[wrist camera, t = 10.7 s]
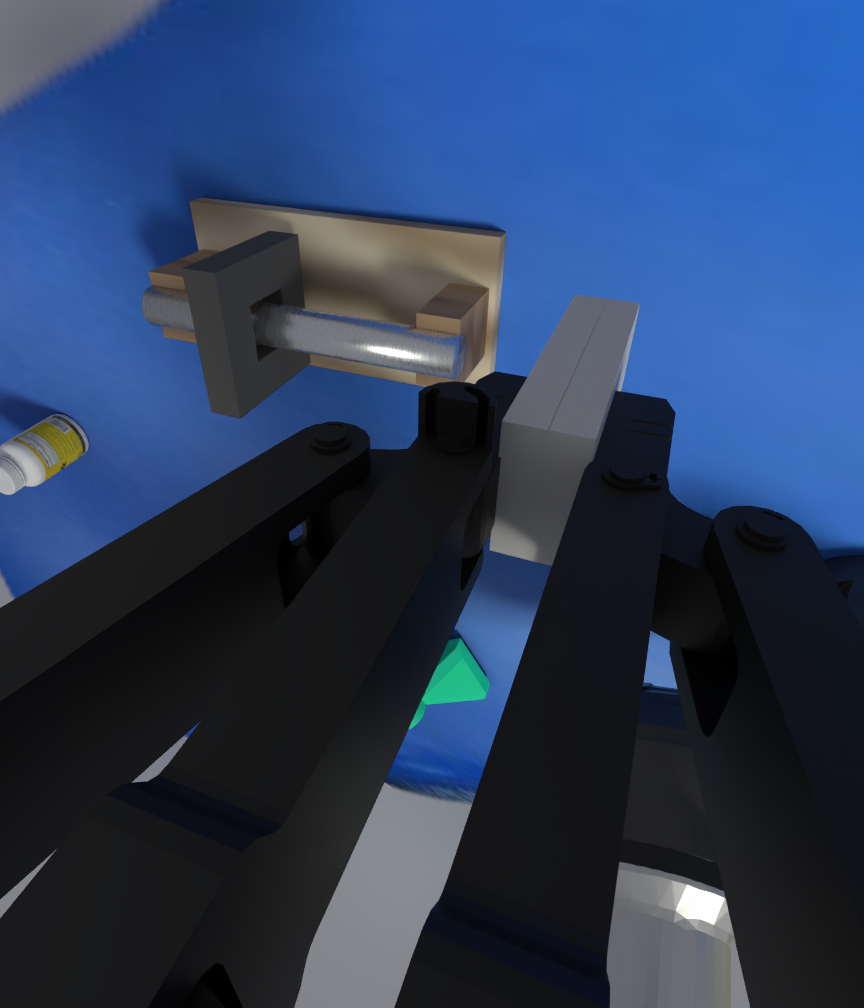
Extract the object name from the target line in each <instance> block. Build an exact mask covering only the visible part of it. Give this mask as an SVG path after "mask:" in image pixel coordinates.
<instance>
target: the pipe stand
mask: <svg viewBox="0 0 864 1008" xmlns="http://www.w3.org/2000/svg"><path fill="white" fill-rule="evenodd" d="M189 203H190V208H191V213H192V218H193V224H194V229H195V234H196V239H197V245H198V250H199V251H197V252H195V253H192V254H190V255H188V256H185V257H183V258H180V259H178V260H175V261H173V262H171V263H168V264H166V265H163V266H161V267H159V268H156V269H154V270H151V271H149V276H150V280H151V284H152V286H158V287H165V288H171V289H177V290H183V291H186V286H185V282H184V277H183V272H182V268H184V267H186V266H188V265H191V264H193V263H195V262H198V261H200V260H202V259H205V258H207V257H209V256H212V255H214V254H216V253H218V252H221V251H223V250H225V249H228V248H230V247H232V246H235V245H237V244H239V243H242V242H244V241H246V240H249V239H251V238H253V237H255V236H258V235H260V234H262V233H265V232H267V231H276V232H284V233H292V234H298V240H299V250H300V260H301V270H302V280H303V290H304V300H305V308H306V309H313V310H319V311H325V312H331V313H338V314H344V315H350V316H356V317H363V318H369V319H375V320H381V321H388V322H394V323H400V324H406V325H413V326H416V328H420V329H426V330H432V331H439V332H445V333H451V334H457V335H460V334H461V335H465V338H466V353H465V360H464V364H463V368H462V371H461V373H460V375H459V377H458V378H457V379H456V380H452V379H447V378H441V377H436V376H430V375H425V374H419V373H414V372H408V371H402V370H397V369H391V368H386V367H380V366H375V365H369V364H364V363H358V362H353V361H347V360H342V359H336V358H331V357H325V356H319V355H314V354H310V361H311V363H310V364H309V365H312V366H317V367H323V368H328V369H334V370H339V371H344V372H350V373H355V374H360V375H366V376H371V377H377V378H382V379H387V380H393V381H398V382H403V383H409V384H414V385H420V386H425V387H427V386H430V385H433V384H436V383H440V382H451V381H457V382H468V383H472V384H475V383H476V382H477V380H478V379H480V378H482V377H484V376H486V375H488V374H490V373H492V372H494V371H495V361H496V349H497V337H498V325H499V313H500V302H501V290H502V278H503V266H504V254H505V242H506V232H500V231H492V230H483V229H474V228H465V227H456V226H448V225H439V224H430V223H421V222H412V221H403V220H395V219H386V218H377V217H368V216H359V215H350V214H342V213H333V212H324V211H315V210H306V209H297V208H289V207H280V206H271V205H262V204H253V203H244V202H236V201H227V200H218V199H209V198H198V199H195V200H192V201H189ZM162 330H163V335H164V337H166V338H171V339H176V340H182V341H187V342H193V343H197V339H196V334H195V333H192V332H187V331H181V330H176V329H170V328H165V327H162ZM463 339H464V338H463ZM459 346H463V345H460V344H459ZM459 351H460V350H459Z"/></svg>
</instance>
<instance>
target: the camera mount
mask: <svg viewBox="0 0 864 1008" xmlns="http://www.w3.org/2000/svg"><path fill="white" fill-rule="evenodd" d="M489 686H490V682H489V680H488V679H487V677H486V676H485V674H484V673H483V671H482V670H481V668H480V667H479V665H478V664H477V662H476V661H475V659H474V658H473V656H472V655H471V653H470V652H469V650H468V649H467V647H466V646H465V644H464V643H463V641H462V639H461V638H458V639H452V640H449V641H448V643H447V645H446V648H445V650H444V652H443V654H442V656H441V659H440V661H439V663H438V665H437V667H436V670H435V672H434V674H433V676H432V678H431V681H430V683H429V685H428V687H427V689H426V692H425V694H424V696H423V698H422V700H421V703H420V705H419V707H418V709H417V711H416V714H415V716H414V718H413V720H412V722H411V725H410V727H409V729H411V728H412V727H414V726H415V725H416V724H417V723H418V722H419V721H420V720H421V718H422V717H423V715H424V712H425V705H428V704H438V703H449V702H459V701H470V700H481V699H484V698H485V697H486V695H487V692H488V689H489ZM409 729H408V730H409Z"/></svg>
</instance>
